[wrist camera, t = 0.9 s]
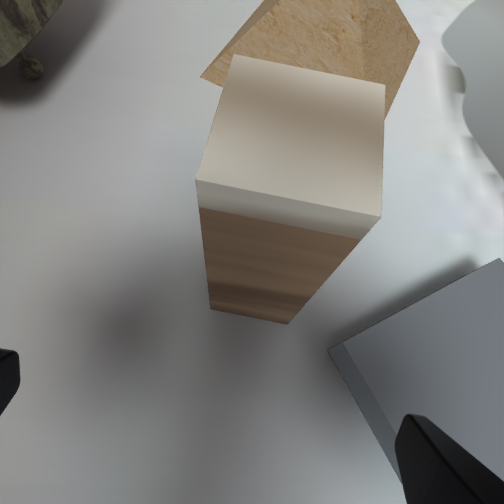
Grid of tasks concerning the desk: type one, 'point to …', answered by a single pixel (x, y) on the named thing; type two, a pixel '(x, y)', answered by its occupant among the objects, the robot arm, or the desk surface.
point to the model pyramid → (327, 40)
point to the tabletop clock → (23, 30)
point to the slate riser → (436, 366)
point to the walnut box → (287, 184)
